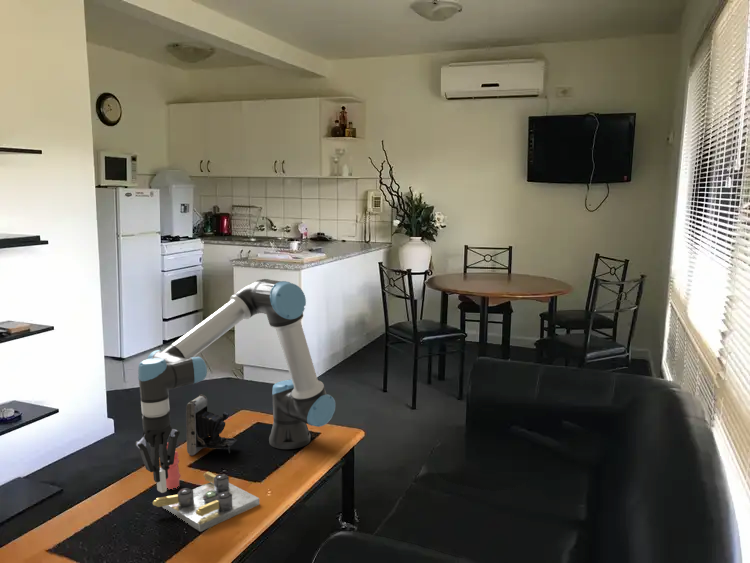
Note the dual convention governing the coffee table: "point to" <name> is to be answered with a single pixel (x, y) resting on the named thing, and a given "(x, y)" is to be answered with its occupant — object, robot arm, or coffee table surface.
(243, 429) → the coffee table surface
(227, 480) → the screw
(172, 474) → the figurine
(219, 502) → the screw side
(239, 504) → the tribrach plate
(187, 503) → the screw
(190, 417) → the vintage camera
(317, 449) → the coffee table surface
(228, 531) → the coffee table surface
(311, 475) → the coffee table surface
